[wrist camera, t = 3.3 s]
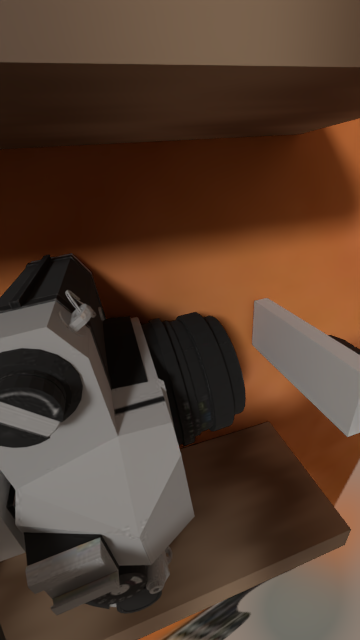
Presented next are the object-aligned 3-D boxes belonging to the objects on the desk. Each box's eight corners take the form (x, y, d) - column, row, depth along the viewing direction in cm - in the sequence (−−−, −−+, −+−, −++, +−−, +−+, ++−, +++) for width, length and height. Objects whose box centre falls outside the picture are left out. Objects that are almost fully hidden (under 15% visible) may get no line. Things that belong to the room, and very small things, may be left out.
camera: (217, 424, 18) (318, 597, 10) (100, 471, 16) (106, 720, 8) (175, 220, 12) (323, 227, 4) (-4, 264, 11) (-275, 397, 3)
